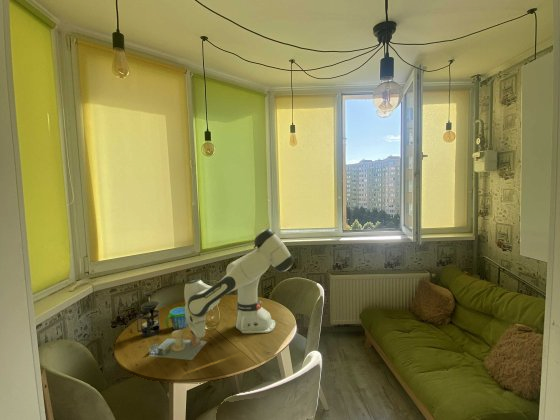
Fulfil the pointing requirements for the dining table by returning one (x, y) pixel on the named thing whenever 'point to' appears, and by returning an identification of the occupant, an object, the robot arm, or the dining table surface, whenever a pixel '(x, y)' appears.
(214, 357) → the dining table surface
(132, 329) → the dining table surface
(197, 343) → the tab block
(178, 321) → the snack cup
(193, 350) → the bobbin board
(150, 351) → the notch block
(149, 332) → the french press
